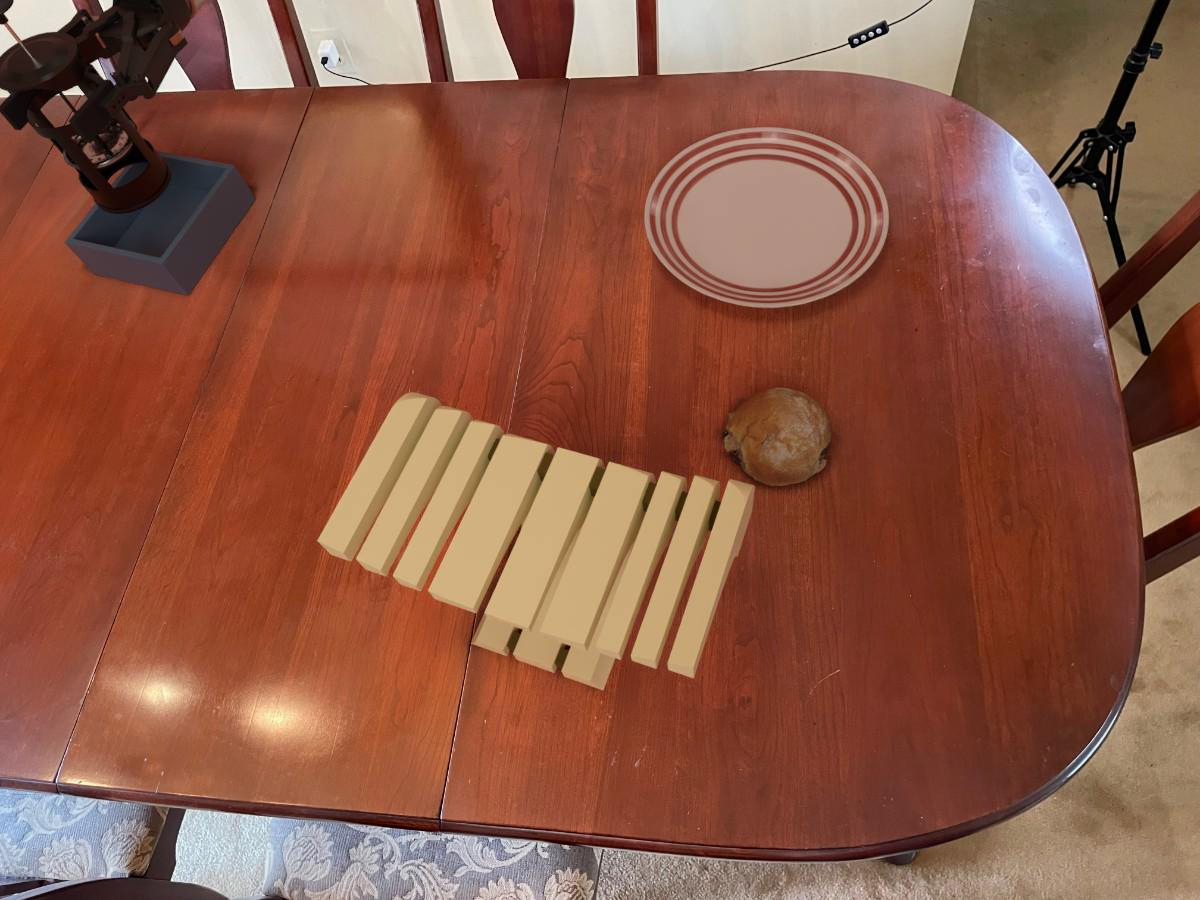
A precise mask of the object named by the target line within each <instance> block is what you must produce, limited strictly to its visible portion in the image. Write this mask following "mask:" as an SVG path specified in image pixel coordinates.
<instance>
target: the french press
mask: <svg viewBox="0 0 1200 900" xmlns="http://www.w3.org/2000/svg"><path fill="white" fill-rule="evenodd" d="M14 1H15V0H0V25H2V26H4V27H5V28H6V29H7V30H8V32H9V33H10V35H11V36H12V37H13V38H14V39H15V41H16V43H14V44H13V45H12V46H10V47H9V48H7V50H5V51H4V52H3V53H2V54H1V55H0V90H2V91H5V92H8V94H9V95H11V96H12V97H13V98H14V97H15V94H16V92H20V91H27V90H32V89H40V91H39V92H38V93H37V94H36V95H35V96H34V97H33V98H32V99H31V100H30V102H29V103H28V105H27V108H26V111H25V116H26V120H27V121H28V123H27V124H29V125H30V126H31V128H33V130H34V131H35V132H36V133H37V135H39V136H41V137H42V138H45V139H49V140H50V142H51V143H52V144H53V145H54V147H56V149H57V150H58V151H59V152H60V153H61V154H62V158H63V160H64V162H65V163H66V164H67V165H68V166H70V167H72V168H73V169H75V171H76V172H77V173H78V180H79V183H80V184H81V186H82V187H83V188H84V189H85V190H86V192H88V194H89V195H90V196H91V197H92V199H93V201H94V203H95V204H97V206H98V207H99V208H100V209H102V210H103V211H105V212H108V213H113V214H125V213H130V212H133V211H136V210H139V209H141V208H144V207H146V206H147V205H149V204H151V203H152V202H154V201H155V200H156V199H157V198H159V197H160V196H161V195H162V193H163V192H164V191H165V190H166V188H167V187H168V185H169V183H170V180H171V169H170V166H169V164H168V163H167V162H166V161H165V160H164V159H163V158H161V157H160V155H159V154H158V153H157V150H156V148H155V147H154V146H153V144H152V143H151V142H150V141H149V140H147V139H146V138H143V136H142V135H141V134H140V132H139V131H138V130H139V129H138V125H137V124H136V123H135V121H134V120H133V118H132V116H130V115H129V113H128V112H127V110H126V108H125V106H124V107H123V108H122V110H121V111H120V112H119V113H118V114H117V115H116V116H115V117H113V118H112V119H111V120H110V121H109V122H108V124H107V125H106V126H105V127H104V128H103V129H102V131H101V132H100V133H99V134H98V135H97V137H96V138H95V139H94V140H93V141H92V142H91V143H87V142H85V141H84V140H83V139H82V138H81V136H80V135H79V134H78V133H77V131H76V130H75V129H74V128H73V126H72V125H71V124H70V123H67V124H65V125H61V126H56V127H55V126H54V124H53V123H52V122H51V121H50V120H49V118H48V117H47V116H46V115H45V114H44V113H43V111H42V108H43V107H44V106H45V105H46V104H47V103H48V102H50V100H52V99H53V98H54V97H56V96H57V95H59V96H60V98H62V100H63V101H64V102H65V104H66V105H67V106H68V107H69V109H70V110H71V111H72V112H73V114H75V113H76V112H77V111H78V109H76V108H75V107H74V105H73V104H72V102H71V101H70V100H69V99H68V98H67V96H66V95H65V94H64V93H63V92H67V91H70V90H71V89H73V88H75V87H78V88H79V90H80V91H81V92H82V93H83V95H84V96H85V98H86V100H87V99H88V98H89V97H90V96H91V95H92V94H93V92H94V91H95V90H96V89H97V88H98V87H99V86H100V84H101V83H102V82H103V81H104V80H105V79H104V78H103V76H102V75H100V73H99V71H98V70H97V69H96V67H95V66H94V65H93V64H92V63H91V64H86V62H85V60H84V58H83V57H82V56H81V54H80V53H79V46H78V43H77V41H76V40H75V39H74V38H73V37H72V36H71V35H69V34H66V33H63V32H57V31H47V32H42V33H38V34H34V35H32V36H29V37H27V38H24V39H21V38H20V37H19V36H18V34H17V33H16V31H15V30H14V29H13V28H12V27H11V26H10V24H9V18H8V17H7V16H6V14H5V13H7V12H8V11H9V10H10V9H11V8H12V6H13V4H14ZM136 163H148V164H149V165H148V166H147V168H146V169H145V170H144V171H143V172H142V173H141V174H140V175H139V176H138V177H137V178H135V179H134V180H132V181H131V182H129V183H127V184H125V185H123V186H121V187H118V188H115V189H114V188H113V187H112V186H111V183H110V182H109V180H110V179H111V178H112V177H113V176H114V175H115V174H116V173H118V172H119V171H120V170H123V169H124V168H125V167H126V166H129V165H132V164H136Z"/></svg>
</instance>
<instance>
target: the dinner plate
mask: <svg viewBox="0 0 1200 900" xmlns="http://www.w3.org/2000/svg"><path fill="white" fill-rule="evenodd" d="M889 210H890V209H889V204H888V199H887V196H886V194H885V192H884V189H883V186H882V185H881V183H880V182H879V180H878V179H877V177H876V175H875V174H874V173H873V171H872V170H871V169H870V168H869V167H868V166H867V164H866V163H864V161H862V160H861V159H860V158H859V157H857V155H855V154H853V153H852V151H850V150H848V149H846V148H845V147H843V146H841V145H840V144H838V143H836V142H834V141H832V140H829V139H827V138H825V137H822V136H820V135H817V134H813V133H812V132H811V133H810V132H808V131H803V130H799V129H793V128H787V127H777V126H757V127H756V126H755V127H745V128H737V129H732V130H728V131H723V132H720V133H716V134H713V135H711V136H708V137H706V138H703V139H701V140H699V141H696V142H695V143H693V144H690V145H689V146H688V147H686V148H684V149H683V150H681V151H680V152H679V153H678V154H676V155H675V156H674V157H673V158H672V159H670V160H669V161H668V162H667V163H666V164H665V165H664V166H663V168H662V169H661V170H660V171H659V173H658V174H657V175H656V177H655V178H654V180H653V182H652V184H651V186H650V188H649V190H648V193H647V196H646V199H645V204H644V210H643V221H644V223H643V224H644V230H645V234H646V238H647V240H648V243H649V245H650V247H651V249H652V251H653V253H654V254H655V256H656V257H657V259H658V261H660V262H661V264H662V265H663V266H664V267H665V269H667V270H668V271H669V272H670V273H671V274H672V275H673V276H674V277H675V278H677V279H678V280H679V281H680V282H682V283H683V284H685V285H686V286H687V287H689V288H690V289H691V288H692V290H695V291H697V292H698V293H701V294H703V295H705V296H707V297H710V298H712V299H715V300H718V301H721V302H725V303H729V304H733V305H736V306H737V305H738V306H743V307H749V308H761V309H762V308H763V309H778V308H787V307H795V306H801V305H805V304H809V303H812V302H815V301H819V300H822V299H825V298H827V297H830V296H831V295H834V294H836V293H838V292H839V291H842V290H844V289H845V288H847V287H848V286H850V285H852V284H853V283H855V281H856V280H858V279H859V278H860V277H861V276H863V275H864V274H865V273H866V272H867V270H868V269H869V268H870V267H871V266H872V265H873V264H874V263H875V261H876V260H877V258H878V257H879V255H880V253H881V251H882V250H883V247H884V245H885V243H886V240H887V236H888V234H889V233H888V232H889V226H890V211H889Z"/></svg>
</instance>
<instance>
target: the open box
mask: <svg viewBox="0 0 1200 900" xmlns="http://www.w3.org/2000/svg"><path fill="white" fill-rule="evenodd" d="M156 151H157V150H156ZM157 153H158V154H159V155H160V157H161V158H163V159H164V160H165V161H166V162H167V163H168V164H169V166H170V169H171V180H170V183H169V185H168V187H167V188H166V190H165V191H164V192H163V193H162V195H161V196H160V197H159V198H157V199H156V200H155V201H154V202H152V203H151V204H149V205H147V206H146V207H144V208H141V209H139V210H136V211H133V212H130V213H125V214H113V213H108V212H105V211H103V210H102V209H100V208H99V207H98V206H97V204H96V203H95V204H94V205H93V206H92V207H91V209H90V210H89V211H88V212H87V213H86V215H85V216H84V217H83V219H81V221H80V222H79V223H78V225H77V226H76V227H75V228H74V230H72V232H71V233H70V234H69V236H68V237H67V238H66V239H65V240H64V244H65V245H66V246H67V247H68V248H69V250H71V251H72V252H73V254H74V255H75V256H76V257H77V258H78V259H79V260H80V261H81V262H82V263H83V264H84V266H86V267H87V269H88V270H89V271H90V272H91V273H92V274H93V275H96V276H100V277H103V278H109V279H114V280H118V281H122V282H126V283H130V284H135V285H139V286H143V287H148V288H153V289H157V290H161V291H164V292H165V291H167V292H170V293H174V294H179V295H182V296H183V295H184V296H187V297H189V295H190V294H191V293H192V291H193V290H194V288H195V287H196V286H197V284H198V283H199V281H200V280H201V279H202V277H203V276H204V274H205V273H206V271H207V270H208V268H209V267H210V265H211V264H212V263H213V261H214V260H215V258H216V257H217V255H218V254H219V253H220V251H221V250H222V248H223V247H224V246H225V244H226V243H227V241H228V240H229V239H230V238H231V236H232V234H233V233H234V231H236V229H237V227H238V226H239V224H240V223H241V222H242V220H243V219H244V217H245V215H246V214H247V213H248V211H249V210H250V209H251V207H252V206H253V204H254V203H255V201H256V197H255V196H254V194H253V192H252V191H251V189H250V186H248V184H247V182H246V181H245V179H244V177H243V175H242V173H241V172H240V171H239V169H238V167H237V166H236V164H231V163H225V162H219V161H215V160H209V159H204V158H199V157H192V156H186V155H181V154H176V153H169V152H163V151H159V150H158V151H157ZM148 165H149V164H148V163H136V164H132V165H129V166H126V167H124V168H122V171H121V172H120V173H119V174H118V175H117V177H116V178H115V179H114V180H113V182H112V183H110V185H111V186H112V187H113V188H114V189H115V188H118V187H121V186H123V185H125V184H127V183H129V182H131V181H132V180H134V179H135V178H137V177H138V176H139V175H140V174H141V173H142V172H143V171H144V170H145V169H146V168H147V166H148Z"/></svg>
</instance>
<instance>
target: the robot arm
mask: <svg viewBox="0 0 1200 900" xmlns="http://www.w3.org/2000/svg"><path fill="white" fill-rule="evenodd" d="M208 1H209V0H112V4H111V6H110V7H109V8H108V9H106V10H104V11H102V12H101V13H100V14H99V15H91V14H90V12H89V11H88V10H87V9H86V8H82V9H79V10H78V11H76V13H75V14H74V16H73V17H72V18H71V19H70V21H69V22H67V23H66V24H65V25H63V26H62V27H60V29H58V30H57V31H56V32H63V33H66V34H69V35H71V36H72V37H73V38H74V39H75V40H76V41H77V43H78V46H79V53H80V54H81V56H82V57H83V58H84V60H85V62H86V64H92V63H94V62H96V61H97V60H99V59H104V60H108V59H110V58H112V57H113V56H115V55H116V54H117V55H118V53H119V57H118V61H117V64H116V69H115V71H112V72H109V75H110V77H111V78H112V80H111V79H104V81H103V82H102V83H101V84H100V86H99V87H98V88H97V89H96V90H95V91H94V92H93V94H92V95H91V96H90V97H89V98H88V99H87V98H86V100H85V101H84V102H83V104H82V105H81V106H80V107H79V108H78V109H77V112H76V113H73V114H72V116H71V117H70V118H69V119H68V123H69V124H71V125H72V126H73V128H74V129H75V130H76V131H77V133H78V134H79V135H80V136H81V138H82V139H83V140H84V141H85V142H87V143H91V142H92V141H93V140H94V139H95V138H96V137H97V135H98V134H99V133H100V132H101V131H102V129H103V128H104V127H105V126H106V125H107V124H108V122H109V121H110V120H111V119H112V118H113V117H115V116H116V115H117V114H118V113H119V112H120V111H121V110H122V108H123V107H124V108H125V106H126V105H127V104H128V103H129V102H134V101H135V100H137V99H138V98H139V97H143V98H144V99H145V100H152V99H153V98H154V97H155V96H156V94H157V93H158V90H159V89H160V87H161V85H162V83H163V81H164V79H165V77H166V75H167V73H168V72H169V70H170V68H171V66H172V64H173V62H174V61H175V59H176V57H177V55H178V54H179V53H180V52H181V51H182V50H183V49H184V48H185V47H186V46H187V45H188V40H187V38H186V36H185V35H184V33H183V31H185V29H186V28H187V27H188V26H189V24H190V22H191V20H193V19H194V17H196V15H198V13H199V11H200V10H201V9H202V8H203V7H204V6H205V4H206V3H207V2H208ZM99 38H100V40H99ZM101 41H102V43H103V44H104V45H102V43H101ZM104 46H105V47H104ZM112 81H114V82H115V84H114V83H113V82H112ZM39 91H40V89H32V90H27V91H20V92H16V94H15V97H14V98H13V97H12V96H11V95H10V94H9V95H8V96H7V97H6V98H5V99H4V101H2V103H0V114H1V115H2V117H3V118H4V119H5V120H6V121H7V122H8V123H9V125H10V126H11V127H12V128H13V129H14V130H15V131H22V130H23V129H24V128H25V126H27V124H29V123H28V121H27V120H26V116H25V111H26V108H27V105H28V103H29V102H30V100H31V99H32V98H33V97H34V96H35V95H36V94H37V93H38V92H39Z"/></svg>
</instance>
